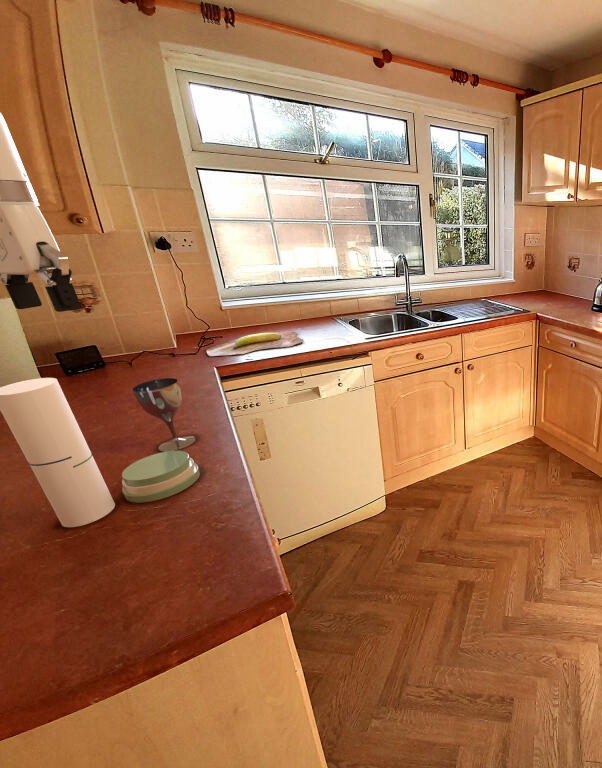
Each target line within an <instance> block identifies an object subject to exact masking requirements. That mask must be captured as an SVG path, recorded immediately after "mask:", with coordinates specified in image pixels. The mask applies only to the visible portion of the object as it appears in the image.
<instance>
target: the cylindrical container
mask: <svg viewBox="0 0 602 768" xmlns="http://www.w3.org/2000/svg"><path fill="white" fill-rule="evenodd" d="M0 413H1V414H2V417H3V419H4V420H5V422H6V424H7V426H8V427H9V430H10V431H11V433H12V435H13V437H14V439H15V441H16V443H17V444H18V446H19V448H20V450H21V452H22V453H23V455H24V458H25V459H26V461H27V463H28V465H29V466H30V469H31V470H32V472H33V474H34V476H35V478H36V479H37V481H38V484H39V485H40V487H41V490H42V492H43V493H44V494H45V496H46V498H47V500H48V503H49V504H50V505H51V507H52V510H53V512H54V513H55V516H56V517H57V518H58V521H59V523H60V524H61V526H62V527H64V528H76V527H82V526H85V525H88V524H91V523H94V522H95V521H98V520H100V519H103V518H105V516H107V515H109V514H110V513H111V512H112V511H113V510H114V509H115V507H116V503H115V501H114V499H113V496H112V495H111V492H110V490H109V488H108V486H107V484H106V482H105V480H104V477H103V475H102V472H101V471H100V469H99V467H98V465H97V462H96V460H95V458H94V456H93V454H92V451H91V450H90V449H91V448H90V446H89V445H88V443H87V441H86V439H85V436H84V435H83V432H82V430H81V428H80V426H79V423H78V421H77V419H76V417H75V414H74V413H73V411H72V409H71V406H70V405H69V402H68V401H67V398H66V396H65V394H64V391H63V390H62V387H61V384H60V383H59V381H58V379H57V378H55V377H40V378H33V379H27V380H26V379H25V380H22V381H17V382H13V383H10V384H6V385H3V386H0Z"/></svg>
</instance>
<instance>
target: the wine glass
mask: <svg viewBox="0 0 602 768" xmlns="http://www.w3.org/2000/svg"><path fill="white" fill-rule="evenodd" d="M132 392H133V395H134V397H135V399H136V402H137V403H138V404H139V407H140V408H142V410H143V411H144V412H145V413H146V414H148V415H150V416H152V417H154V418H157V419H159V420H161V421H163V423H164V424H166V426H167V427H168V429H169V431H170V434H171V436H172V438H171V439H168V440H166V441H164V442H163V443H161V444H159V446H158V448H157V449H158V451H160V452H167V451H179V450H182V449H185V448H187V447H189V446H190V445H192V444H194V443H195V442H196V440H197V439H196V438H197V437H196V436H193V435H181V436H178V435H177V433H176V429H175V424H174V420H175V416H176V414H177V413H178V411H179V410H180V408H181V406H182V403H183V396H182V390H181V385H180V383H179V380H178V379H177V378H173V377H166V378H158V379H152V380H149V381H145V382H142V383H140V384H137V385H135V386H133V388H132Z"/></svg>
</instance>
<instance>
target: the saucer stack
mask: <svg viewBox="0 0 602 768" xmlns="http://www.w3.org/2000/svg"><path fill="white" fill-rule="evenodd" d="M200 476H201V471H200V468H199V466H198V464H197V463H196V462H194V459H193V458H192V457H190V454H189V453H188V452H186V451H184V450H174V451H167V452H164V451H161V452H158V453H155V454H154V453H153V454H151V455H148V456H145V457H143V458H140V459H138V460H136V461H134V462H132V463H131V464H129V465H127V467H126V468H124V470H123V471H122V472H121V478H122V480H121V485H122V488H121V491H122V492H121V493H122V495H123V496H124V499H125V500H126V501H128V502H130V503H139V504H142V503H151V502H155V501H159V500H163V499H167V498H169V497H171V496H173V495H177V494H178V493H180V492H182V491H185V490H186V489H188V488H189V487H191V486H192V485H193V484H195V483H196V482H197V480H198V479H199V478H200Z"/></svg>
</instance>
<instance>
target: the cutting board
mask: <svg viewBox="0 0 602 768" xmlns="http://www.w3.org/2000/svg"><path fill="white" fill-rule="evenodd" d="M298 333H299V332H295V331H282V332H280V331H279V332H260V333H259V332H258V333H253V334H252V333H251V334H248V335H244V336H241V337H239V338H236V339H231V340H229V341H224V342H221V343H218V344H216V345H213V346H211V347H209V348H206V350H205V351H206V352H205V353H206V354H207V356H209V357H217V356H218V357H219V356H221V357H222V356H232V355H245V354H247V353H251V352H254V351H255V352H256V351H260V350H266V349H273V348H290V347H293V346H296V345H298V344H301V343H303V342H304V341H305V340H304V338H300V337H298V336H297V334H298Z"/></svg>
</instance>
